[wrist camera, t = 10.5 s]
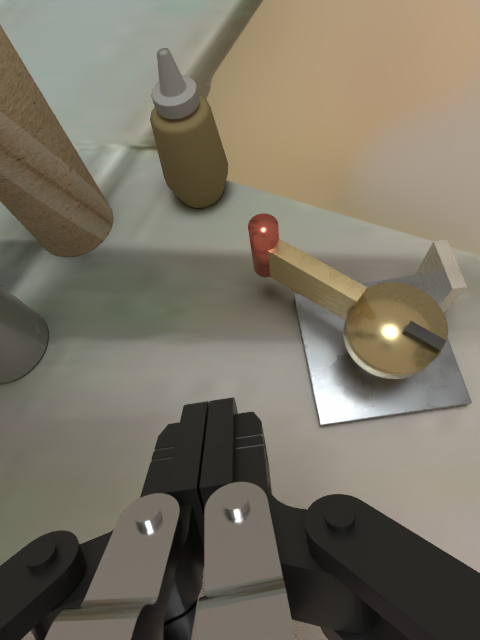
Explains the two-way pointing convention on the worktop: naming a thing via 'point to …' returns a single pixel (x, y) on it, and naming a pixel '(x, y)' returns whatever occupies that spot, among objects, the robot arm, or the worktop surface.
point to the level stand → (370, 390)
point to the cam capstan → (357, 306)
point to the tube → (44, 168)
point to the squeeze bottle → (186, 137)
